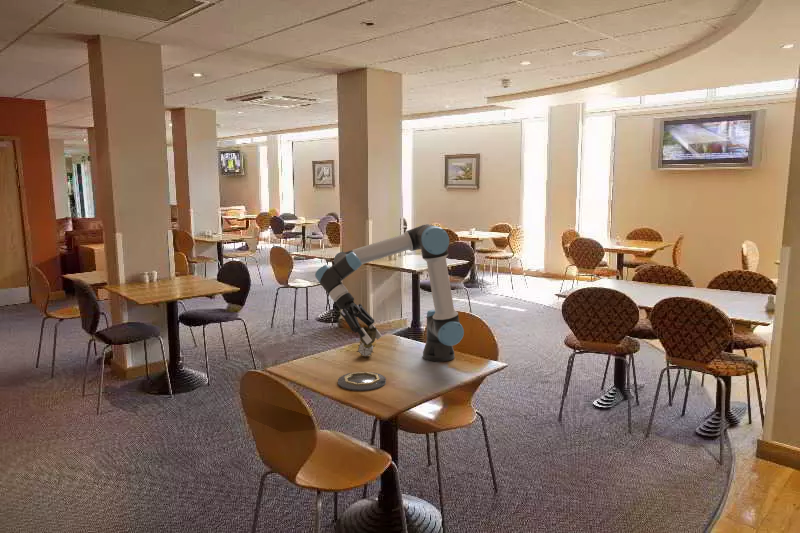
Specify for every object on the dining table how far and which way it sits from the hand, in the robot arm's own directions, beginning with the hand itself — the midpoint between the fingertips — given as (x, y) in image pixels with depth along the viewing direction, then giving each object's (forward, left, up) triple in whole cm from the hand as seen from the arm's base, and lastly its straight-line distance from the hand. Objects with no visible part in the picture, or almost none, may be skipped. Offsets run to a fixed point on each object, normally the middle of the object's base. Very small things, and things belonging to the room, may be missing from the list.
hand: (374, 340), depth 241 cm
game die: (-2, -37, -19) cm, 42 cm away
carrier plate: (+5, -2, -19) cm, 19 cm away
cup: (+3, -2, -4) cm, 5 cm away
